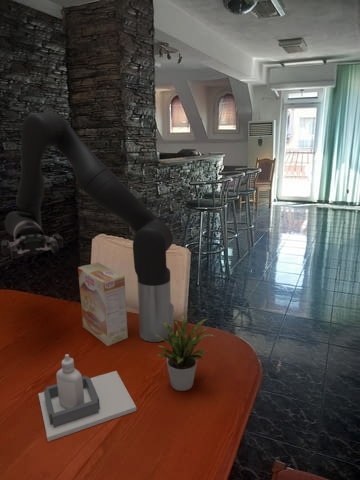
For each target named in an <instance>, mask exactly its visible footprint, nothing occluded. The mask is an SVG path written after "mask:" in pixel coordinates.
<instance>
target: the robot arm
mask: <svg viewBox="0 0 360 480" xmlns="http://www.w3.org/2000/svg"><path fill="white" fill-rule="evenodd" d="M21 127H22V128H21V143H20V144H21V146H20V149H21V150H20V151H21V152H20V157H21V158H20V161H21V163H20V177H19V178H20V179H19V184H18V187H17V188H18V189H17V192H16V193H17V194H16V200H15V205H16V207H17V208H18V209H19V210H21V211H17V210H16V211H15V210H14V211H9V213H8V214H7V215H6V217H5V219H4V227H5V230H6V231H7V233H8V234H10V236H13V241H11V242H10V240H7V239H3V240H1V244H0V246H1V252H2V253H1V254H2V256H4V257H5V256H9V255H11V258H15V259H19V254H20V255H22V254H35V253H37V252H39V251H40V250H42V251H49V250H50V251H51V253H53V254H57V252H58V251H59V249H63V248H64V243H63V241H64V239H63V236H61V235H60V234H59V233H53V234H52V236H50V237H49V236H48V235H45V232H44V231H43V229H42V224H43V223H42V216H41V205H42V200H43V197H44V194H45V193H44V192H45V188H46V187H45V184H46V183H45V178H44V174H43V172H42V166H41V165H42V160H43V157H44V153H45V150H46V149H49V148H56V149H57V150H58V151H59V152H60V153H61V154H62V155H63V156H64V157H65V158H66V159H67V161H68V162H69V163H70V165H71V167H72V169H73V172H74V175H75V178H76V181H77V183H78V185H79V187H80V188H81V190H82V191H83V192H84V193H85V194H86V195H87V196H88V197H89V198H90V199H91V200H92V201H93V202H94V203H95V204H96V205H97V206H98V207H100V208H102V209H103V210H105V211H106V212H108V213H110V214H112V215H114V216H116V217H118V218H120V219H121V220H122V221H124V222H125V223H126V224H128V226H130V227H131V228H132V230H133V231H134V232H135V234H134V236H133V240H132V252H133V254H132V256H133V264H134V265H133V266H134V272H135V274H136V278H137V296H138V297H137V299H138V322H139V323H138V325H139V326H138V327H139V337H140V338H141V339H142V340H143V341H146V342H151V343H157V342H162V341H163V342H164V340H163V339H162V338H160V337H158V336H155V334H156V335H159V336H161V337H163V338H164V339H166V340H168V339H167V338H168V330H167V328H166V326H165V324H164V322H163V321H165V322H167V324H168V325H169V326H170V324H171V327H172V329H173V331H174V330H175V328H174V326H175V325H174V323H175V321H174V320H175V319H174V317H175V316H174V314H175V313H174V310H175V309H174V304H173V303H172V302H171V299H172V298H171V295H172V294H171V270H170V268H168V267H167V252H168V250H169V249H170V248H171V246H172V245H173V241H174V235H173V233H172V230H171V228H170V227H169V226H168V225H167V224H166V223H165V222H164V221H163V220H162V219H160V218H159V217H158V216H157V215H156V214H155V213H153V212H152V211H151V210H150V209H148V208H147V206H145V205H144V204H143V203H142V202H141V201H140V200H139V199H138V198H137V197H136V196H135V195H134V194H133V192H131V191H130V189H129V188H128V187H127V186H126V185H125V184H124V183H123V182H122V181H121V180H120V179H119V177H118V176H116V174H115V173H113V172H112V171H111V169H110V168H108V167H107V165H106V164H104V163H103V161H101V159H99V157H97V156H96V154H95V153H94V152H93V151H92V150H91V149H90V148H89V147H88V146H87V145H86V144H85V143H84V142H83V140H82V139H81V138H80V137H79V136H78V134H77V133H76V132H75V130H74V129H73V127H72V126H71V125H70V124H69V123H68V121H67V120H66V119H65V118H64V117H63V116H61V115H60V114H58V113H57V112H53V111H46V112H45V111H44V112H43V111H42V112H34V113H29V114H28V115H26V116H25V118H24V120H23V122H22V125H21ZM22 211H23V212H22ZM173 319H174V320H173ZM162 320H163V321H162ZM174 332H175V331H174Z"/></svg>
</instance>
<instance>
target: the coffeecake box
mask: <svg viewBox="0 0 360 480" xmlns="http://www.w3.org/2000/svg"><path fill="white" fill-rule="evenodd" d="M77 272H78V282H79V294H80V303H81V304H80V305H81V306H80V307H81V314H82V327H83V328H84V329H85V330H87V331H88V332H89V333H91V334H92V335H93V336H95V338H97V339H98V340H99V341H100V342H102V343H103V344H104V345H106V346H107V347H110V346H112V345H114V344H116V343H119V342H121V341H124V340H126V339H128V338H129V337H128V321H127V319H128V318H127V317H128V316H127V301H126V300H127V298H126V281H125V280H126V278H125V275H123V274H121V273H120V272H117V271H116V270H114V269H112V268H110V267H108V266H105V265H104V264H103V263H101V262H96V263H95V262H94V263H91V264H85V265H81V266H78V267H77Z"/></svg>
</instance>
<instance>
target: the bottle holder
mask: <svg viewBox="0 0 360 480" xmlns="http://www.w3.org/2000/svg"><path fill="white" fill-rule="evenodd" d="M82 382H83V392H84V404H81V405H78V406H75V407H72V408H68V409H66V408H64V407H63V406H62V405H61V404H60V403H59V395H58V386H57V383H55V384H52V385H49V386H45V389H44V390H43V392H38V399H39V404H40V411H41V414H42V419H43V424H44V430H45V434H46V440H47V442H51V441H54V440H56V439H60V438H62V437H66V436H69V435H71V434H74V433H78V432H79V431H83V430H85V429H88V428H91V427H94V426H98V425H100V424H102V423H105V422H108V421H111V420H114V419H117V418H119V417H123V416H125V415H129V414H131V413H134V412H136V411H137V406H136V404H135V402H134V400H133V398H132V397H131V395H130V393H129V392H128V390H127V388H126V386H125V384H124V382H123V381H122V379H121V376H120V375H119V373H118V371H117V370H115V371H111V372H107V373H103V374H99V375H96V376H93V377H88V375H83V376H82Z"/></svg>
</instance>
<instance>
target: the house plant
mask: <svg viewBox="0 0 360 480" xmlns="http://www.w3.org/2000/svg"><path fill="white" fill-rule="evenodd" d="M173 320H174V323H175V325H176V327H177V329H178V330H176V332H175V331H173V329H172V327H171V324H170V326H169V325H168V324H167V322H165V321H163V320H162V321H163V322H164V324H165V326H166V328H167V330H168V338H167V339H164V338H163V337H161V336H159V335H156V334H155V336H158V337H160V338H162V339H163V341H165V342H166V343H167V344H168V345H169V346H170V347H171V349H172V350H170V349H168V348H167V347H165V346H163V345H159V344H157V346H158V347H159V348H161V350H163V351H164V352H161V353H159V354H157V355H156V357H162V358H166V367H167V370H168V376H169V380H170V385H171V387H172V388H173V389H174V390H176V391H181V392H182V391H184V392H185V391H188V390H190V389H191V388H192V387H193V385H194V380H195V375H196V369H197V364H198V359H199V360H204V358H203V357H202V355H203V356H205V357H207V354H206V351H205V350H204V349H202V348H201V349H197V350H195V351H194V349H195V348H196V346H197V345H198V343H200V341H201V340H202V339H203V338H206V337H216V335H215V334H210V333H209V334H204V332H205V331H207V330H208V329H209V327H206V328H204V329H202V330H200V332H199V333H198V334H197V335H196V337H194V335H195V334H196V333H197V330H198V329H199V328H200V326H202V324H203V323H204V322H205V321H207V320H209V317H208V318H204V319H201V320H199V322H197V324H195V325H194V327H193V328H192V329H191V331H190V333H189V335H188V325H187V324H188V323H187V321H186V317H185V315H184V314H183V313H182V315H181V326H182V327H181V326H180V324H179V322H177V321H176V320H175V319H173ZM202 334H203V335H202ZM165 352H166V353H165Z"/></svg>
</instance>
